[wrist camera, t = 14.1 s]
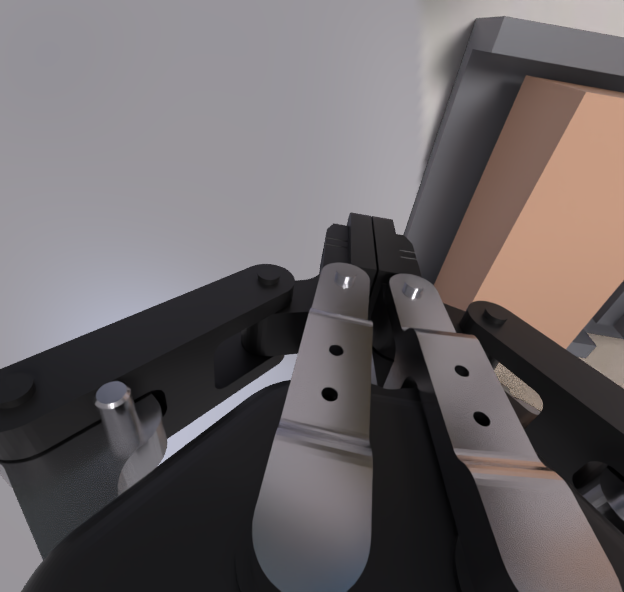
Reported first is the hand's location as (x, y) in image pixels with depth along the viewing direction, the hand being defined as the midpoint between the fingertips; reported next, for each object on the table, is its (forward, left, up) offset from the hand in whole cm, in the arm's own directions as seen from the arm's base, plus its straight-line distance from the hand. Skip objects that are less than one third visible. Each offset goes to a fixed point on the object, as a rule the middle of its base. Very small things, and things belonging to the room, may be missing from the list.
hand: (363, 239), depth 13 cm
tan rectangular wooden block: (-8, 0, -5) cm, 9 cm away
